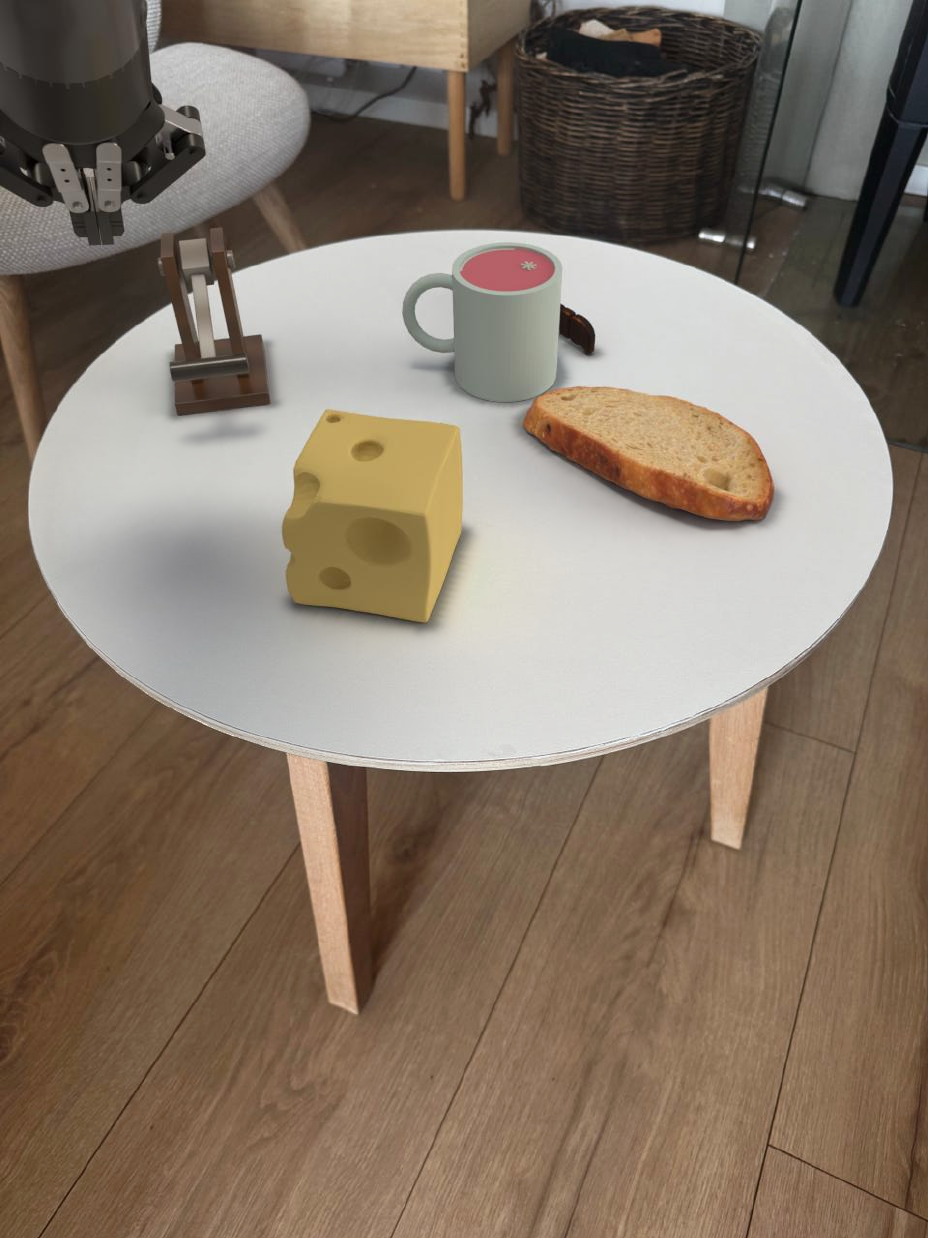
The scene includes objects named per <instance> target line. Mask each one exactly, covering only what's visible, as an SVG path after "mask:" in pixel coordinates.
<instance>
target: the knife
mask: <svg viewBox="0 0 928 1238" xmlns="http://www.w3.org/2000/svg"><path fill="white" fill-rule="evenodd" d="M559 335H561V336H562V337H563V338H565V339H566V340H570V341H571V342H572V343H573V344H575V345H577V346H579V347H580V348H581V349H582V350H583V352H584V354H585V356H588V355H591V354H593V353H594V352H595V346H596V332H595V328H594V326H593V324H592V323H591V322H590V320H589V319H587V318H586V317H584V316H582V315H581V314H580V313H576V311H575V310H573V309H571V308H569V307H566V306H565V305H564V304H562V303H561V302H560V318H559Z"/></svg>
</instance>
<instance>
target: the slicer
mask: <svg viewBox="0 0 928 1238" xmlns="http://www.w3.org/2000/svg"><path fill="white" fill-rule="evenodd" d="M209 231H210V245H211V246H210V247H211V248H210V249H211V258H212V261H213V267H214V270H215V275H216V280H217V286H218V290H219V294H220V299H221V304H222V309H223V314H224V319H225V324H226V327H227V334H228V337H226V338H218V339H217V338H216V339H214V344H215V351H216V356H225V355H233V354H242V353H246V354H247V357H248V363H249V369H250V373H245V374H237V375H229V376H221V377H213V378H204V379H196V380H188V381H180V382H174V407H175V411H176V415H177V416H183V415H192V414H200V413H207V412H216V411H224V410H230V409H231V410H232V409H238V408H239V409H240V408H248V407H255V406H263V405H270V404H271V396H270V389H269V380H268V372H267V364H266V363H267V362H266V356H265V354H266V353H265V347H264V340H263V336H262V334H260V333H259V334H252V335H244V331H243V326H242V320H241V316H240V310H239V304H238V299H237V296H236V289H235V285H234V280H233V274H232V270H231V269H235V268H236V264H235V259H234V253H233V250H232V249H231V250H230V249H229V250H228V249H227V243H226V239H225V233H224V228H223V227H212V228H210V229H209ZM157 265H158V270H159V273H160V276H161V277H165V280H166V285H167V289H168V294H169V298H170V302H171V307H172V310H173V314H174V318H175V322H176V326H177V331H178V333H179V338H180V343H176V344H175V343H174V362H175V361H183V360H191V359H200V358H201V353H200V345H199V337H198V331H197V328H196V324H195V319H194V316H193V311H192V307H191V303H190V298H189V294H188V289H187V284H186V280H185V277H184V274H183V270H182V264H181V258H180V254H179V251H178V247H177V242H176V239H175V234H174V232H165V233H161V235H160V257H158V258H157Z"/></svg>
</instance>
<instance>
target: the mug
mask: <svg viewBox="0 0 928 1238" xmlns="http://www.w3.org/2000/svg"><path fill="white" fill-rule="evenodd" d="M562 281H563V264H562V262H561V260H560V259H559V258H558V257H557V255H555V254H554V253H552V252H551V251H549V250H547V249H545V248H543V247H540V246H537V245H533V244H529V243H522V242H514V241H513V242H512V241H511V242H509V241H507V242H504V241H503V242H493V243H487V244H481V245H477V246H475V247H472V248H470V249H468V250H466V251H464V252H462V253H461V254H460V255H458V256H457V257H456V258H455V260H454V261H453V262H452V266H451V274H450V273H444V272H436V273H428V274H426V275H424V276H421V277H419V278H418V279H417V280H416V281H414V282H413V283H412V284H411V285H410V287H409V288H408V289H407V291H406V292H405V295H404V298H403V301H402V311H401V314H402V319H403V323H404V326H405V328H406V330H407V332H408V334H409V335H410V336H411V337H412V339H413V340H414V341H415V342H416V343H417V344H419V345H420V346H421V347H422V348H425V349H426V350H429V351H431V352H435V353H441V354H449V353H453V355H454V357H453V359H454V377H455V381H456V383H457V385H458V386H459V387H460V388H461V389H462V390H463V391H464V392H466V393H468V395H471V396H473V397H476V398H478V399H481V400H484V401H490V402H497V403H516V402H521V401H527V400H531V399H533V398H537V397H539V396H541V395H543V394H544V393H546V392H548V390H549V389H550V388H551V387H552V386H553V385H554V383H555V382H556V378H557V369H558V368H557V367H558V355H559V354H558V353H559V352H558V351H559V335H560V333H559V318H560V303H561V301H562V300H561V299H562V298H561V297H562ZM435 288H436V289H438V288H441V289H447V290H450V291H452V318H453V319H452V320H453V321H452V322H453V337H452V338H447V339H443V338H437V337H435V336H433V335H430V334H429V333H428V332H426V331H425V330H424V329H423V328H422V327H421V325H420V324H419V322H418V320H417V316H416V305H417V302H418V300H419V298H420V297H421V296H422V295H423V294H424V293H425V292H426V291H428V290H431V289H435Z"/></svg>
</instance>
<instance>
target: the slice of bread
mask: <svg viewBox="0 0 928 1238" xmlns="http://www.w3.org/2000/svg"><path fill="white" fill-rule="evenodd" d="M522 426H523V428H524V429H525V430H526V432H528V434H531V435H533V436H534V437H536V438H537V439H538V440H539V441H540V442H541V443H542V444H545V445H546V446H547V447H548V448H549V450H551V451H553V452H556V453H559V454H560V455H561V456H563V457H564V458H565V459H566V460H569V461H571V462H575V463H576V464H578V465H580V466H581V467H582V468H583V469H585V470H588V471H591V472H593V473H594V474H596V475H597V476H599V477H601V478H602V479H605V480H606V481H608V482H611V483H613V484H616V485H617V486H619V487H620V488H622V489H623V490H624V489H625V490H627V491H630V492H633V493H634V494H636V495H638V496H639V497H641V498H643V499H646V500H649V501H653V502H658V503H662V504H664V505H666V506H667V507H669V508H670V509H672V510H673V509H674V510H683V511H686V512H688V513H691V514H694V515H697V516H701V517H703V518H707V519H713V520H717V521H718V520H720V521H727V522H740V521H746V520H750V521H759V520H761V519H763V518H765V517H766V516H767V514H768V511H769V508H770V507H771V505H772V502H773V499H774V496H775V485H774V480H773V477H772V473H771V470H770V468H769V464H768V461H767V460H766V458H765V456H764V453H763V452H762V450H761V447H760V446H759V444H758V443H757V441H756V440H755V438H754V437H753V436H752V434H751V433H749V432H748V431H746V430H745V429H743V428H742V427H740V426H738V425H737V424H735V423H733V421H731V420H730V419H728V418H726V417H724V416H723V415H722V414H721V413H719V412H717V411H716V412H715V411H712V410H710V409H708V408H707V407H705V406H701V405H696V404H694V403H692V402H690V401H688V400H685V399H681V398H678V397H677V396H670V395H663V394H661V395H654V394H649V393H647V392H640V391H635V390H631V389H628V388H620V387H619V388H618V387H613V386H580V385H578V386H577V385H576V386H571V387H561V388H557V389H555V390H550V391H545V392H544V393H542V394H540V395H539V396H536V397H535V399H534V400H533V402H532V403H531V405H530V406H529V408H528V410H527V411H526V413H525V416H524V418H523V421H522Z"/></svg>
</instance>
